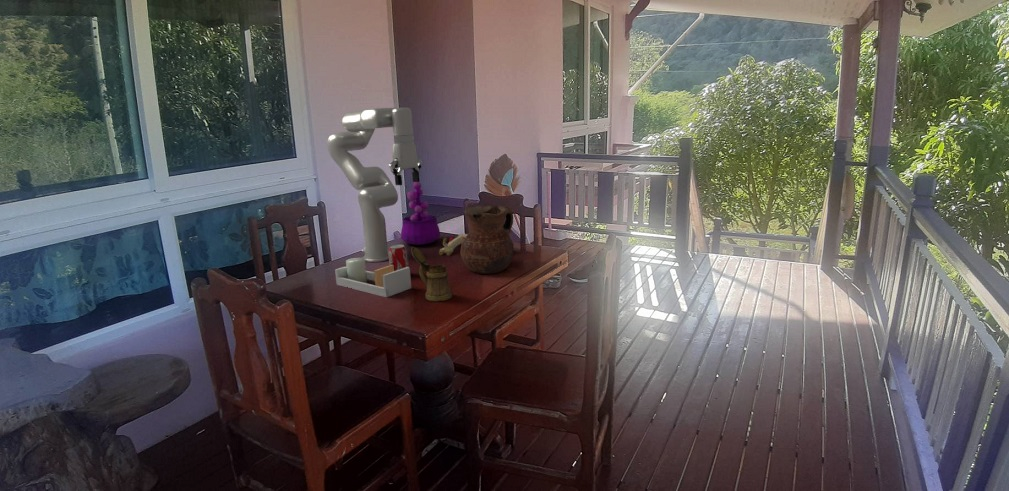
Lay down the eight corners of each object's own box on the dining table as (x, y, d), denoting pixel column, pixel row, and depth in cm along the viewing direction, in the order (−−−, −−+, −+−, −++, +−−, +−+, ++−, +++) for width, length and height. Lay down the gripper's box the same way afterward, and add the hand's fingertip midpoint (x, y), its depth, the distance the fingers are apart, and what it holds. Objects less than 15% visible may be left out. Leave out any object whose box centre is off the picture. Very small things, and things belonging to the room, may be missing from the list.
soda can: (404, 278, 228) (402, 248, 225) (387, 278, 230) (384, 248, 227) (410, 273, 235) (408, 244, 232) (394, 272, 236) (391, 243, 233)
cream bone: (455, 259, 259) (477, 241, 281) (453, 240, 256) (476, 223, 278) (434, 257, 262) (458, 240, 284) (432, 239, 259) (457, 223, 281)
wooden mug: (420, 291, 211) (416, 243, 207) (455, 294, 207) (452, 244, 203) (409, 300, 203) (405, 249, 198) (446, 302, 199) (443, 251, 195)
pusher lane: (336, 284, 223) (334, 264, 221) (361, 276, 232) (359, 257, 230) (386, 297, 207) (384, 275, 205) (411, 288, 216) (409, 267, 214)
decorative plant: (423, 250, 271) (418, 185, 264) (393, 245, 281) (388, 183, 274) (448, 241, 286) (444, 179, 279) (419, 237, 296) (415, 178, 289)
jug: (495, 280, 222) (492, 215, 216) (450, 273, 233) (447, 211, 227) (524, 265, 240) (522, 205, 234) (482, 259, 251) (479, 201, 245)
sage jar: (344, 283, 224) (342, 261, 222) (359, 279, 230) (356, 256, 227) (356, 286, 220) (353, 263, 218) (370, 281, 225) (368, 259, 223)
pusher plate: (376, 291, 212) (374, 270, 210) (393, 285, 219) (391, 264, 217) (377, 292, 212) (375, 270, 210) (395, 285, 218) (393, 265, 216)
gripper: (412, 138, 239) (416, 180, 243) (380, 141, 225) (385, 186, 229) (426, 138, 235) (429, 181, 239) (394, 141, 221) (398, 186, 225)
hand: (407, 183), depth 234 cm, fingers open, 9 cm apart
